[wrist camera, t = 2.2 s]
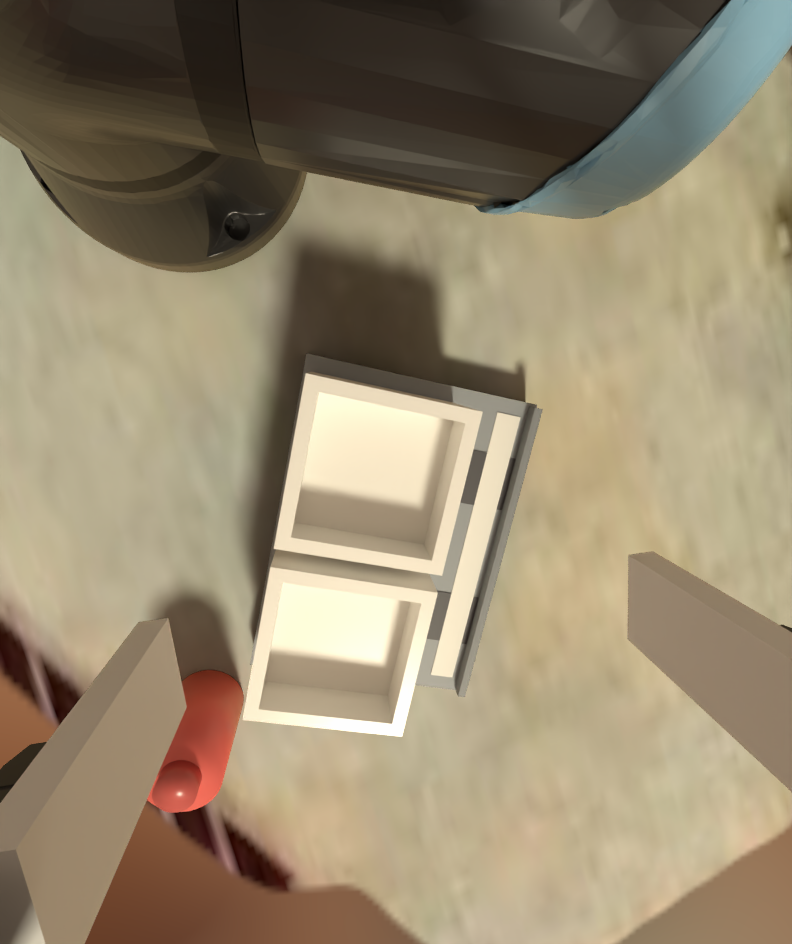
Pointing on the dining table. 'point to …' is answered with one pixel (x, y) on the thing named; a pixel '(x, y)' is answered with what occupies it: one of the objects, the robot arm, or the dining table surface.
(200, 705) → the red cylinder with knob
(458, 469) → the cream square open box
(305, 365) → the panel
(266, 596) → the cream square open box
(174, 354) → the dining table surface
